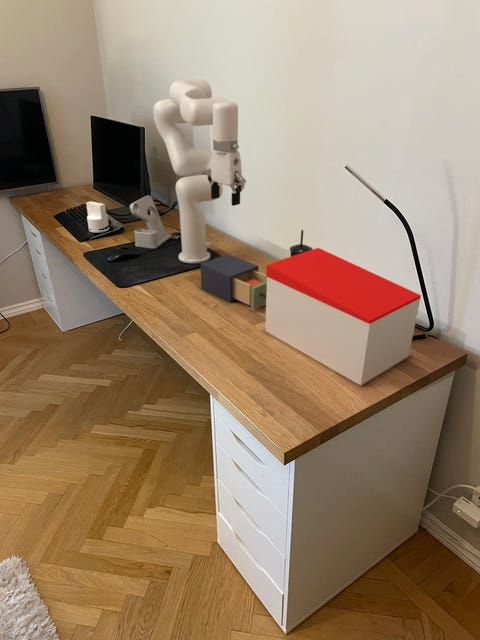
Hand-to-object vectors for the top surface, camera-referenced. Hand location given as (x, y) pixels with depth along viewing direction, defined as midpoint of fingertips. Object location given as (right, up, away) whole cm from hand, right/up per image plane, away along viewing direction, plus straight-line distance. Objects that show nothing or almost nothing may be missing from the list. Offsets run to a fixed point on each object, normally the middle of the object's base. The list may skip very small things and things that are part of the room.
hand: (225, 201), depth 157 cm
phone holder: (-33, -4, +53) cm, 63 cm away
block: (+9, -30, +2) cm, 31 cm away
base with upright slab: (-60, +3, +67) cm, 90 cm away
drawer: (+10, -32, +1) cm, 33 cm away
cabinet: (+1, -28, +10) cm, 30 cm away
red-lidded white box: (+31, -45, -20) cm, 58 cm away
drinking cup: (+25, -26, +14) cm, 39 cm away
